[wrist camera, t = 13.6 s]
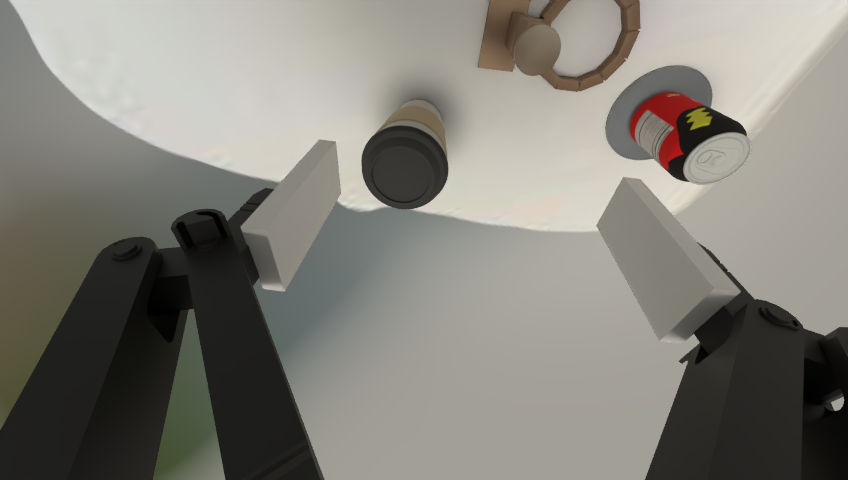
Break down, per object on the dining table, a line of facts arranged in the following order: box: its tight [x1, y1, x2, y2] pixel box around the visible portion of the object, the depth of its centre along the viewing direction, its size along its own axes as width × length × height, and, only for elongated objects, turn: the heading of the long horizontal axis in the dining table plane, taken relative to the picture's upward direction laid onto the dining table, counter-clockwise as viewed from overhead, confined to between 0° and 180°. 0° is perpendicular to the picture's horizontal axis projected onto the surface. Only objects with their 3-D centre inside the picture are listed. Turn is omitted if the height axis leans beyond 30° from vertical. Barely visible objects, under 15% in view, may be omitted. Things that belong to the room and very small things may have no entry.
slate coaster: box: [606, 66, 712, 160], centre depth 38 cm, size 11×11×1 cm
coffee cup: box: [362, 100, 448, 209], centre depth 36 cm, size 9×9×15 cm
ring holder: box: [478, 0, 640, 92], centre depth 28 cm, size 10×16×15 cm, turn 85°
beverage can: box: [630, 92, 752, 185], centre depth 33 cm, size 6×6×12 cm
